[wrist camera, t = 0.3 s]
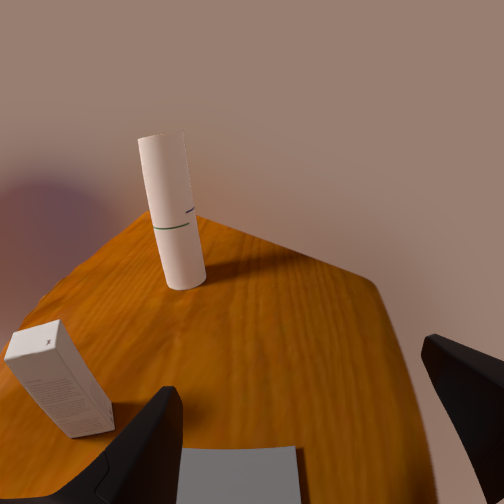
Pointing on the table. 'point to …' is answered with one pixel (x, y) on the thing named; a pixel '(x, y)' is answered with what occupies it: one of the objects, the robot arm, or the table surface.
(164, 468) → the robot arm
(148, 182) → the cylindrical container
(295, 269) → the table surface
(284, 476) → the mat
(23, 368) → the skincare box
